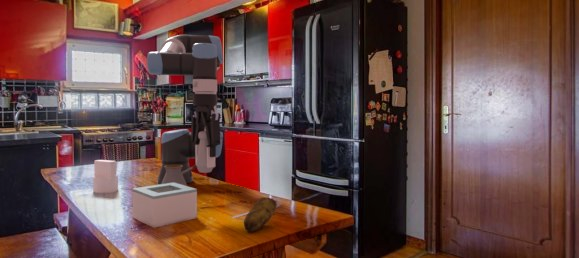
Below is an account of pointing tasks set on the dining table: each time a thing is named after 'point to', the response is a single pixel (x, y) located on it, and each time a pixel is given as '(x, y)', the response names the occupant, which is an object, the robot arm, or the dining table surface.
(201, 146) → the salt shaker
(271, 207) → the potato
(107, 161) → the base with upright slab
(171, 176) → the coffee pot
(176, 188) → the drop box
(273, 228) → the dining table surface
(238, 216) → the fork
